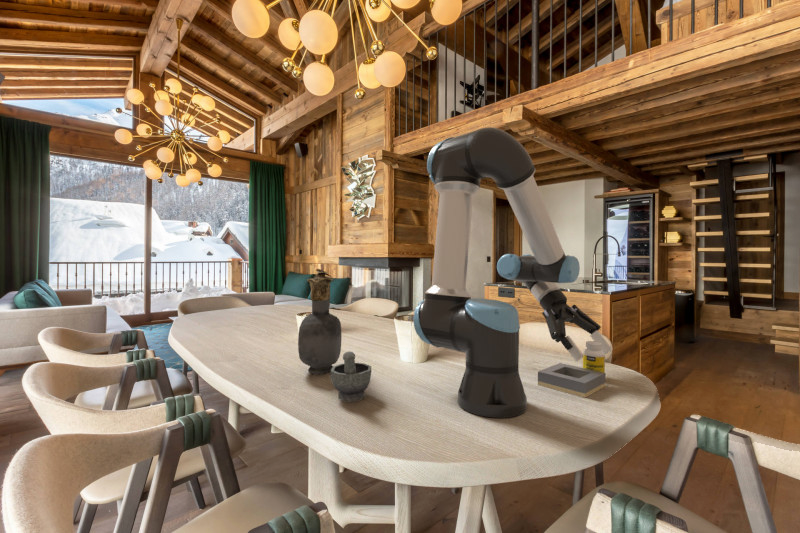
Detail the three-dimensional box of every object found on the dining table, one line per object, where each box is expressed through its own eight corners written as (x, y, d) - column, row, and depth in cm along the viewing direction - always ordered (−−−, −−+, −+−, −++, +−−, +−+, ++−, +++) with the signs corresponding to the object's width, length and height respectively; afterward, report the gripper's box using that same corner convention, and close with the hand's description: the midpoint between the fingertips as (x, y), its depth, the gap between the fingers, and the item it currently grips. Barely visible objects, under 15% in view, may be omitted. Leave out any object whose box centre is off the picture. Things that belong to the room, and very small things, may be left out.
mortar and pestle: (334, 389, 95) (334, 342, 94) (372, 389, 95) (371, 342, 95) (327, 407, 83) (327, 354, 83) (369, 407, 84) (369, 353, 83)
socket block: (584, 397, 89) (584, 383, 89) (537, 384, 98) (537, 371, 98) (605, 386, 97) (605, 372, 97) (560, 375, 106) (560, 362, 106)
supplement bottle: (583, 379, 102) (584, 343, 102) (581, 373, 107) (581, 339, 107) (606, 381, 100) (606, 345, 100) (602, 375, 105) (603, 341, 105)
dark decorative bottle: (294, 379, 103) (294, 269, 102) (311, 360, 122) (311, 267, 121) (334, 379, 102) (334, 269, 102) (345, 360, 122) (344, 267, 121)
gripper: (566, 301, 125) (610, 356, 113) (514, 306, 113) (557, 369, 100) (581, 286, 121) (629, 342, 108) (528, 290, 108) (576, 354, 95)
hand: (595, 355), depth 104 cm, fingers open, 13 cm apart
